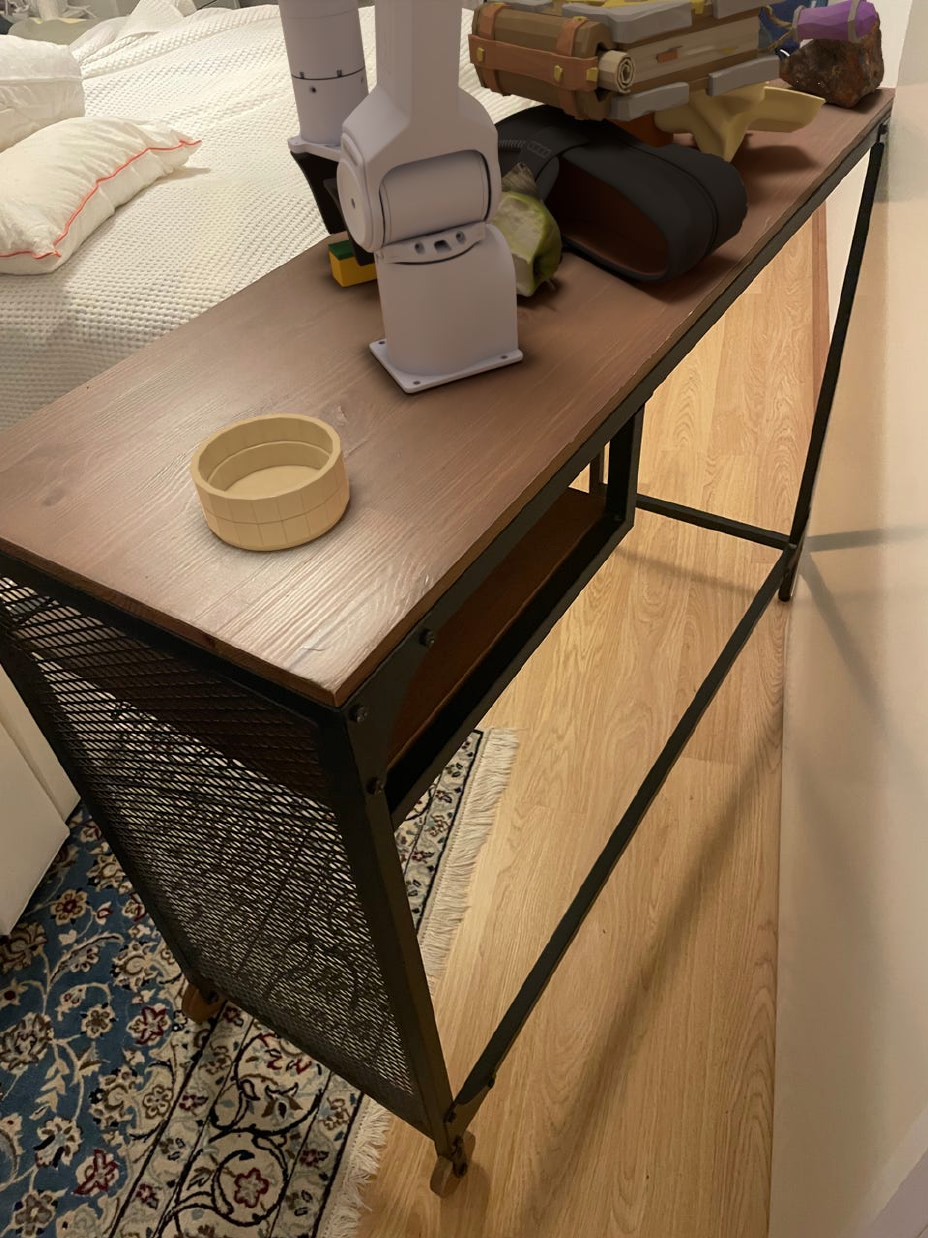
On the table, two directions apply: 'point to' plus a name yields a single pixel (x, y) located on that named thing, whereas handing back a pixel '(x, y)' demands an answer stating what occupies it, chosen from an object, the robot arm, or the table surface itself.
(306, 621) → the table surface
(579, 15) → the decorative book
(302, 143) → the robot arm
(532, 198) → the fruit
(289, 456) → the bowl
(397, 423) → the table surface
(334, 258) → the sponge
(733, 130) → the beige curved piece
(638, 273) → the loafer
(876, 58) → the rock
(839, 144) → the table surface
